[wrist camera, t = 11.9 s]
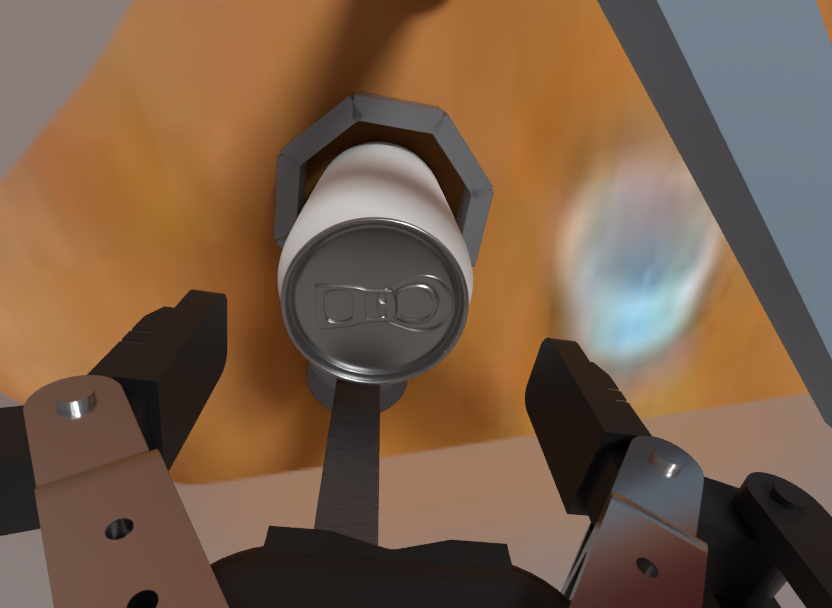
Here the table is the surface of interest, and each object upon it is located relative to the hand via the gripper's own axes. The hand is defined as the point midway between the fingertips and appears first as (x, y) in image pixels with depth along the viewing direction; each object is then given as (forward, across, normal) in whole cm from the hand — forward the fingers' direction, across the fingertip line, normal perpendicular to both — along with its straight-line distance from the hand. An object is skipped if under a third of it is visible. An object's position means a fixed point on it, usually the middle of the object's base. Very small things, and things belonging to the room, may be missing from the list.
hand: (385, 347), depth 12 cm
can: (+14, 0, 0) cm, 15 cm away
